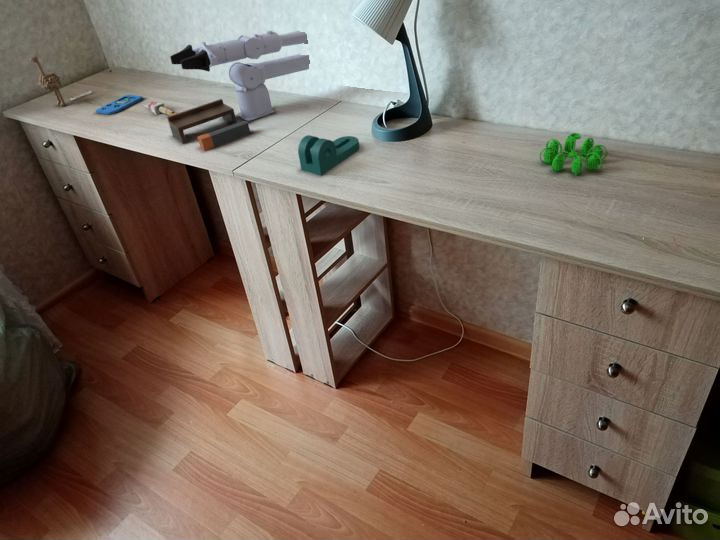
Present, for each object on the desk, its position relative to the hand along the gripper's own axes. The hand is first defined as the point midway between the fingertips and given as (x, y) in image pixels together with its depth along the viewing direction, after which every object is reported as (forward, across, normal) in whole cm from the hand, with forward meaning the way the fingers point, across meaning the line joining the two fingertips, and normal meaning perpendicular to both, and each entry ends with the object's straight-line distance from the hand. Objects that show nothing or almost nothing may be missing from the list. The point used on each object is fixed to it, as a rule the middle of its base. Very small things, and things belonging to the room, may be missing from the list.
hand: (176, 62), depth 155 cm
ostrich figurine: (+18, -70, +23) cm, 76 cm away
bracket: (-20, +45, +21) cm, 53 cm away
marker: (-6, +11, +21) cm, 25 cm away
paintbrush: (-1, -28, +22) cm, 36 cm away
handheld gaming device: (+7, -48, +22) cm, 53 cm away
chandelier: (-57, +91, +18) cm, 109 cm away
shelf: (-5, -2, +21) cm, 22 cm away
